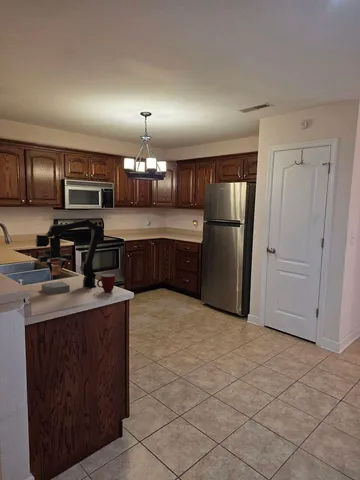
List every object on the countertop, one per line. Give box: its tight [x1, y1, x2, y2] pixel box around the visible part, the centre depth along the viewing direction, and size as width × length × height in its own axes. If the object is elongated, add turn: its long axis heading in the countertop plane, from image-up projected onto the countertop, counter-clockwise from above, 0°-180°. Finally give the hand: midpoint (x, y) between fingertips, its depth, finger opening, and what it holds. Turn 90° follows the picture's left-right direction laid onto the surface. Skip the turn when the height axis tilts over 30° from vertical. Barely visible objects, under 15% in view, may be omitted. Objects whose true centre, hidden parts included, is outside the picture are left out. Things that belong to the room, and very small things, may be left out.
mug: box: [96, 273, 116, 293], centre depth 187 cm, size 11×8×10 cm
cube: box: [49, 264, 62, 276], centre depth 186 cm, size 5×5×5 cm
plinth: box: [41, 280, 71, 295], centre depth 186 cm, size 12×12×4 cm
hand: (55, 272), depth 186 cm, fingers closed on cube, 5 cm apart
